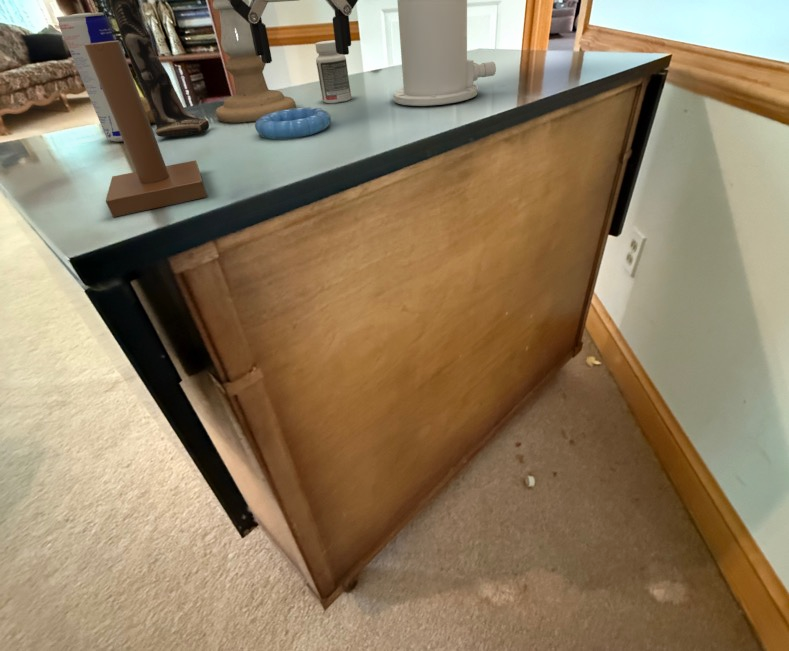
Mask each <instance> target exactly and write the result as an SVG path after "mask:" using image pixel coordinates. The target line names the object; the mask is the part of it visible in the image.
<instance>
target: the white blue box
mask: <svg viewBox="0 0 789 651" xmlns="http://www.w3.org/2000/svg"><path fill="white" fill-rule="evenodd" d="M56 20H57V22H58V27H59V30H60V32H61V34H62V37H63V39H64V42H65V43H66V46H67V48H68V50H69V53H70V55H71V58H72V60H73V62H74V65H75V67H76V69H77V72H78V74H79V77H80V79H81V82H82V84H83V86H84V88H85V91H86V93H87V95H88V98H89V99H90V102H91V105H92V108H93V110H94V112H95V114H96V117H97V119H98V121H99V123H100V125H101V128H102V130H103V133H104V135H105V137H106V139H107V140H109V141H111V142H115V143H116V142H117V143H120V142H123V143H124V141H123V139H122V136H121V134H120V131H119V129H118V127H117V124H116V122H115V119H114V117H113V114H112V112H111V110H110V107H109V105H108V102H107V100H106V97H105V95H104V93H103V90H102V88H101V85H100V83H99V80H98V78H97V75H96V73H95V71H94V68H93V66H92V63H91V61H90V58H89V56H88V54H87V51H86V49H85V46H84V45H85V44H91V43H99V42H107V41H116V40H115V37H114V34H113V32H112V29H111V27H110V24H109V20H108V18H106V17H105V13H104V12H92V13H91V12H82V13H81V12H80V13H74V14H71V15H63V16H57V17H56Z"/></svg>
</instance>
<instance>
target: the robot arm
mask: <svg viewBox="0 0 789 651" xmlns="http://www.w3.org/2000/svg"><path fill="white" fill-rule="evenodd" d="M227 1H228V3H229V5H230V6H231V8H233V9H234V10H235V11H236V12H237V13H238V14H239V15H240V16H242V17H243V18H244V19H245V20H246V21H247V22H248V23H249V24H250V29H251V34H252V38H253V43H254V48H255V53H256V55H257V56H260V57H261V59H262V62H263V63H266V64H267V65H268V64H271V63H272V62H273V58H272V52H271V46H270V42H269V36H268V30H267V27H266V24H265V23H264V22H263V21H262V20H263V19H262V15H263V13H264V11H265V10H266V8H267V5H268V3H280V2H283V3H284V2H295V1H299V0H251V1H250V2H249V5H247V4H246V3H245V2H244V1H243V0H227ZM396 1H397V14H398V15H397V16H398V29H399V43H400V58H401V59H400V60H401V72H402V86H403V87H402V88H400V89H398V90H396V91H395V92H394V93H393V100H394V101H393V102H395V104H399V105H402V106H410V107H431V106H442V105H450V104H451V105H452V104H456V103H461V102H464V101H468V100H471V99H474V98H475V97H476V96H477V95H478V86H477V84H475V83H474V82H476V81H477V80H478V78H488V77H493V76H495V75H496V71H497V65H496V63H495V61H488V62H482V63H476V62H474V60H473V59H472V60H471V59H468V0H396ZM325 2H326V3H327V4H328V5H329V7H330V8H331V9H332V10H333V11H334V16H333V17H332V29H333V35H334V36H333V37H334V40H335V46H336V52H337V53H338V54H342V55H345V56H347V55H349V54H350V49H349V47H351V46H352V36H351V24H350V15H351V14H352V11H353V9H354V8H355V7H356V5H357V3H358V2H359V0H325Z"/></svg>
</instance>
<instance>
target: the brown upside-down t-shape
mask: <svg viewBox="0 0 789 651" xmlns="http://www.w3.org/2000/svg"><path fill="white" fill-rule="evenodd" d="M84 46H85V49H86V51H87V54H88V56H89V58H90V61H91V63H92V66H93V68H94V71H95V73H96V75H97V78H98V80H99V83H100V85H101V88H102V90H103V93H104V95H105V97H106V100H107V102H108V105H109V107H110V110H111V112H112V114H113V117H114V119H115V122H116V124H117V127H118V129H119V131H120V134H121V136H122V139H123V143H124V146H125V148H126V151H127V153H128V156H129V158H130V161H131V163H132V166H133V168H134V170H135V171H134V172H128V173H123V174H118V175H112V177H111V179H110V184H109V187H108V190H107V194H106V197H105V203H106V205H107V207H108V209H109V212H110V214H111V216H112V217H113V218H116V217H121V216H126V215H130V214H135V213H140V212H145V211H149V210H154V209H158V208H163V207H167V206H172V205H177V204H181V203H185V202H189V201H191V202H192V201H196V200H200V199H204V198H208V195H207V191H206V188H205V184H204V181H203V177H202V175H201V172H200V168H199V165H198V162H197V160H195V159H194V160H189V161H185V162H179V163H174V164H170V165H167V164H166V162H165V160H164V157H163V155H162V152H161V149H160V147H159V143H158V141H157V139H156V136H155V133H154V130H153V127H152V124H150V122H149V119H148V117H147V114H146V111H145V109H144V106H143V103H142V101H141V98H140V97H141V95H140V93H139V90H138V87H137V84H136V82H135V79H134V76H133V74H132V71H131V69H130V66H129V64H128V61H127V58H126V55H125V52H124V50H123V47H122V44H121V41H120V40H115V41H107V42H99V43H91V44H85V45H84Z"/></svg>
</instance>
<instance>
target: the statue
mask: <svg viewBox="0 0 789 651" xmlns="http://www.w3.org/2000/svg"><path fill="white" fill-rule="evenodd" d="M108 1H109V2H108V3H109V5H110V8H111V11H112V13H113V15H114V20H115V23H116V25H117V28H118V31H119V34H120V37H121V41H122V43H123V46H124V48H125V51H126V53H127V55H128V58H129V62H130V63H131V66H132V68H133V70H134V73H135V75H136V78H137V80H138V82H139V85H140V88H141V90H142V93H143V95H144V98H146V100H147V101H148V104H149V106H150V110H151V113H152V116H153V118H154V120H155V123H154V124H155V126H156V129H155V134H156V136H158V137H162V138H168V137H182V136H190V135H195V134H196V135H197V134H201V133H204V132H206V131H207V130H209V128H210V122H209V120H208V119H206V118H199V117H198V116H196V115H194V114H191V113H189V112H188V111H187V110H186V108H185V107H184V105H183V103H182V101H181V99H180V97H179V95H178V93H177V91H176V89H175V87H174V85H173V82H172V80H171V78H170V75H169V73H168V72H167V70H166V68H165V67H164V65H163V64H162V62H161V60H160V58H159V57H158V56H157V53H156V51H155V49H154V46H153V41H152V40H153V39H152V36H151V34H150V32H149V31H148V29H147V27H146V26H145V24H144V22H143V21H142V19H141V16H140V13H139V10H138V8H137V4H136V1H135V0H108Z"/></svg>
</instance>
